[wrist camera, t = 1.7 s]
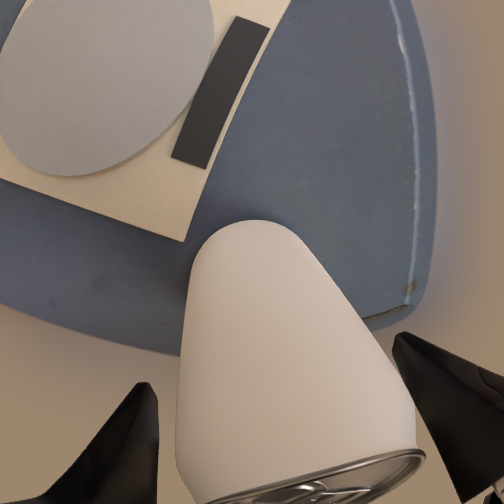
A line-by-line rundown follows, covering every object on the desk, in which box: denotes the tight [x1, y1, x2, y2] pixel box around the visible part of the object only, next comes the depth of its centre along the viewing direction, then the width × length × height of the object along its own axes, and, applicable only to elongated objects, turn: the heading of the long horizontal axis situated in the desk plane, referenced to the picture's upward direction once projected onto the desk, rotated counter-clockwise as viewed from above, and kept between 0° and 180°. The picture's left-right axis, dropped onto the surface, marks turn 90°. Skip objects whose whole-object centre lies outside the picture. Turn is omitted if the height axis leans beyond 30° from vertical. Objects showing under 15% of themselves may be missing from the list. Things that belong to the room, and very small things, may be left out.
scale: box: [0, 0, 291, 242], centre depth 9 cm, size 14×14×2 cm
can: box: [175, 220, 426, 504], centre depth 10 cm, size 6×6×12 cm
